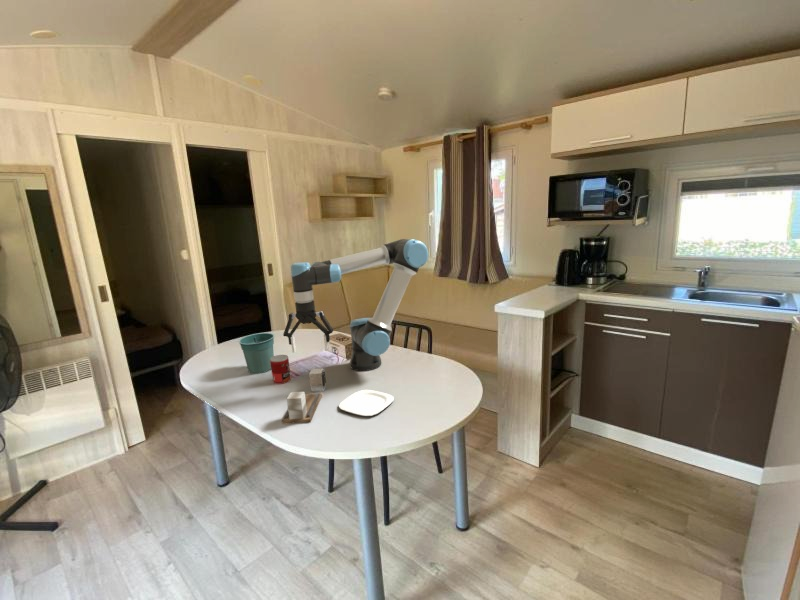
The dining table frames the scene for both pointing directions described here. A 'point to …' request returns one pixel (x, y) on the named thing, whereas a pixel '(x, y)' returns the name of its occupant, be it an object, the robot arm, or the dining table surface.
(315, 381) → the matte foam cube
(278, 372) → the canned food
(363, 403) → the plate
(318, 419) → the dining table surface
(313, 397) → the rail board
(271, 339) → the flower pot
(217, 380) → the dining table surface
